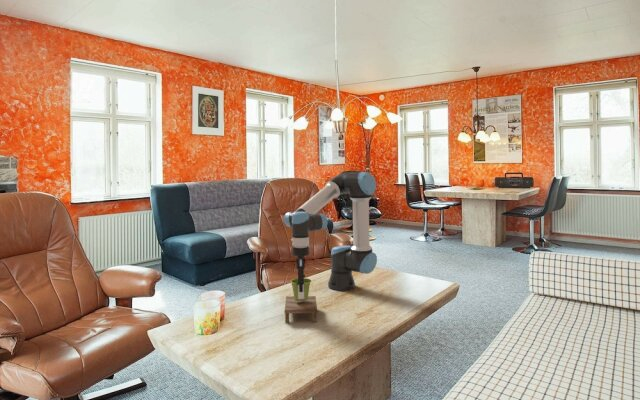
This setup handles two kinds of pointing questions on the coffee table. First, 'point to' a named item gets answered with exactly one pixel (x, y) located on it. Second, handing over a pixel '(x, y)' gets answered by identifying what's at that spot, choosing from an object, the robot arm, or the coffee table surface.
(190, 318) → the coffee table surface
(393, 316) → the coffee table surface
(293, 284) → the plant pot
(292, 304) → the walnut plant stand
